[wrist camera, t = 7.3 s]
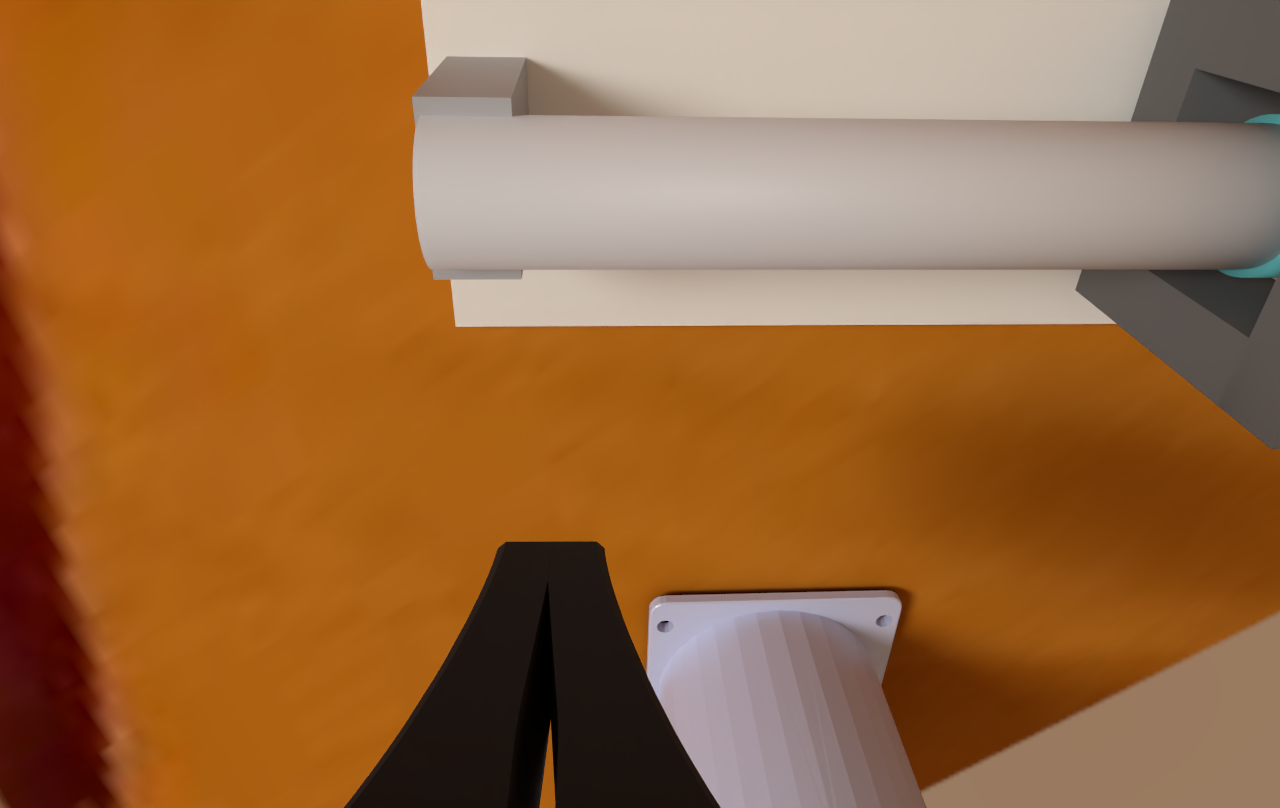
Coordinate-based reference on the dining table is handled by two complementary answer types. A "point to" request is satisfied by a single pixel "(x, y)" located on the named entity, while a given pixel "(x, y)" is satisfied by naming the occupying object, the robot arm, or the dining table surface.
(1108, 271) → the grey square collar
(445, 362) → the dining table surface
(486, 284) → the pipe rail
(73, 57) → the dining table surface
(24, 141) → the dining table surface
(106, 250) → the dining table surface
